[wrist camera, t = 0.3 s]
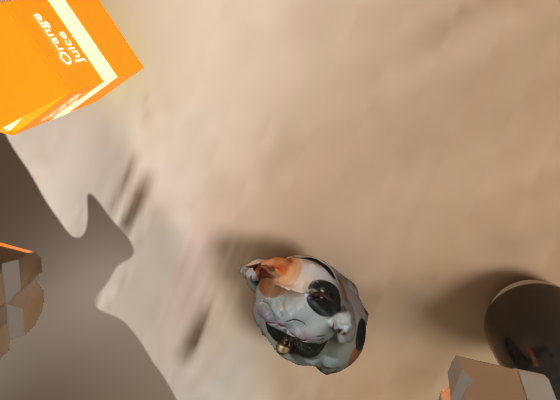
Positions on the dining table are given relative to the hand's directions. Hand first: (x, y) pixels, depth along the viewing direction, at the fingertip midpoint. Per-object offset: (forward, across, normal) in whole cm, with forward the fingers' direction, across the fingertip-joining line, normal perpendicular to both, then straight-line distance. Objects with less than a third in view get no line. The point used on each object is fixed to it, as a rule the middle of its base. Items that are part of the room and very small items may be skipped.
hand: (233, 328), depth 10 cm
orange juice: (+46, +29, +5) cm, 55 cm away
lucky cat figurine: (+46, 0, +32) cm, 56 cm away
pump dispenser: (+46, -23, +25) cm, 57 cm away
